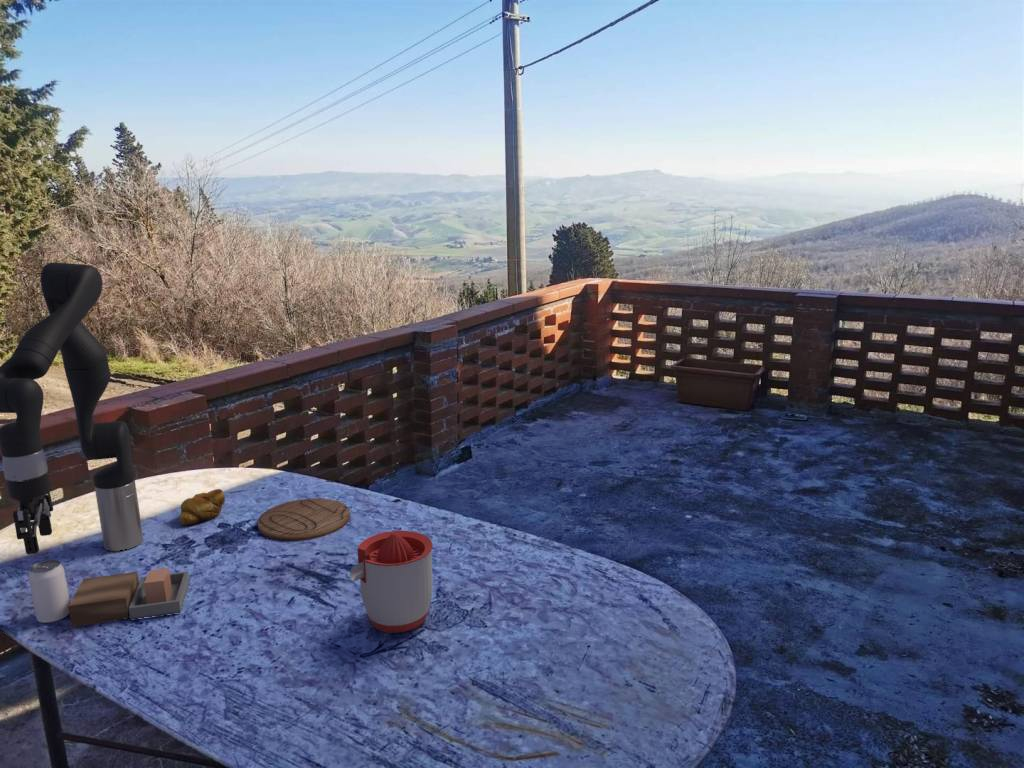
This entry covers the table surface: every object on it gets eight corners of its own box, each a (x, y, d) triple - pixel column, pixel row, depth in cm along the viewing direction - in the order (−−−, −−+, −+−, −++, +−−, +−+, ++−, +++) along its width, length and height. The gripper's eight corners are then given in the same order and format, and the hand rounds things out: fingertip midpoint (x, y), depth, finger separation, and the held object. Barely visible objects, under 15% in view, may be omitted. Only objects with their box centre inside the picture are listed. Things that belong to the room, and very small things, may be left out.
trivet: (311, 497, 223) (311, 491, 222) (368, 517, 209) (368, 511, 208) (239, 526, 203) (238, 520, 203) (297, 550, 189) (296, 543, 188)
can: (55, 625, 156) (46, 574, 153) (29, 622, 157) (19, 571, 154) (78, 609, 162) (69, 559, 159) (53, 606, 163) (44, 557, 160)
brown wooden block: (87, 598, 166) (83, 578, 165) (140, 591, 169) (137, 571, 168) (71, 627, 155) (68, 606, 154) (128, 618, 158) (125, 598, 157)
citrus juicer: (346, 611, 160) (340, 526, 155) (423, 594, 167) (420, 512, 162) (362, 649, 146) (355, 558, 141) (445, 629, 153) (441, 541, 148)
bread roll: (189, 530, 201) (185, 503, 199) (169, 522, 206) (165, 495, 204) (230, 514, 211) (227, 488, 209) (210, 506, 216) (207, 481, 214)
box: (143, 588, 170) (141, 577, 169) (189, 582, 173) (188, 571, 172) (130, 621, 157) (128, 608, 156) (180, 613, 160) (179, 601, 159)
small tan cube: (149, 570, 165) (169, 567, 166) (153, 594, 167) (172, 591, 168) (143, 583, 160) (163, 580, 160) (147, 607, 161) (167, 605, 162)
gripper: (18, 462, 157) (31, 531, 161) (-8, 487, 143) (7, 562, 148) (57, 458, 159) (69, 527, 163) (35, 483, 145) (49, 557, 149)
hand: (39, 543), depth 155 cm, fingers open, 8 cm apart
